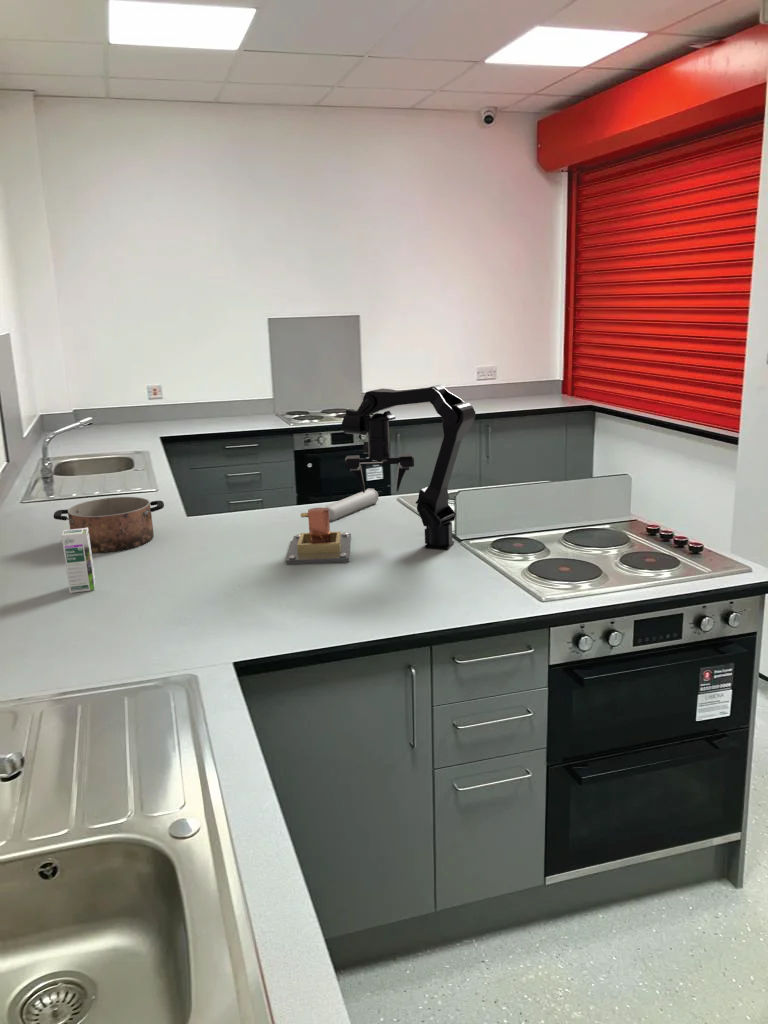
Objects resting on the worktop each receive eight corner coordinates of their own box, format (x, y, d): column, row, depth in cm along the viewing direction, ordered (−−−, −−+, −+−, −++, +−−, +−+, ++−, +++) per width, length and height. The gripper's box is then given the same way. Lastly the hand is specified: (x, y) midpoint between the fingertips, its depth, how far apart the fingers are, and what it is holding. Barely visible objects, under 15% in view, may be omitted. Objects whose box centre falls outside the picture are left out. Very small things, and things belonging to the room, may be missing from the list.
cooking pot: (53, 559, 222) (48, 521, 219) (62, 537, 243) (57, 502, 240) (167, 547, 229) (163, 510, 227) (167, 526, 250) (163, 492, 247)
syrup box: (69, 594, 195) (60, 535, 191) (71, 585, 200) (63, 528, 196) (94, 590, 196) (86, 532, 192) (96, 583, 201) (88, 526, 198)
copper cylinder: (331, 542, 223) (329, 507, 220) (330, 548, 217) (328, 512, 215) (303, 543, 223) (301, 508, 220) (301, 550, 217) (299, 513, 215)
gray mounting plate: (351, 537, 231) (350, 525, 230) (349, 562, 210) (348, 549, 209) (294, 539, 231) (293, 527, 230) (286, 564, 210) (285, 551, 209)
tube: (334, 511, 246) (380, 492, 266) (320, 503, 248) (367, 485, 268) (330, 526, 248) (376, 506, 268) (317, 519, 250) (363, 500, 270)
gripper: (411, 429, 231) (412, 484, 235) (345, 432, 231) (347, 486, 235) (413, 436, 220) (415, 493, 224) (343, 439, 220) (346, 495, 224)
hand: (380, 491), depth 227 cm, fingers open, 9 cm apart
